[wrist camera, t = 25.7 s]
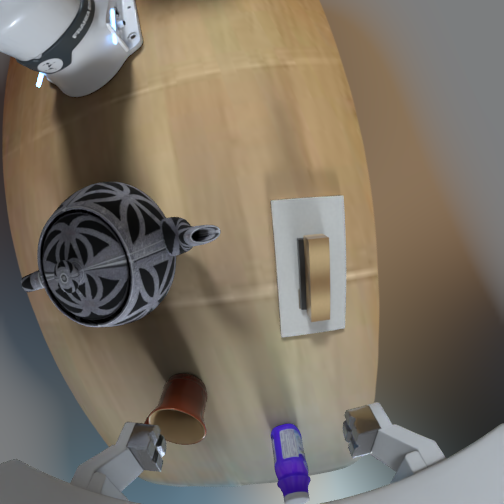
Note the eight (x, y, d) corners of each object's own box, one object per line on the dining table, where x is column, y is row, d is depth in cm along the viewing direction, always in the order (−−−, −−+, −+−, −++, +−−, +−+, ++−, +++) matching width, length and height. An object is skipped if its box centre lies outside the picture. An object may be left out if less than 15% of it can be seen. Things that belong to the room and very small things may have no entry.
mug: (191, 359, 42) (179, 401, 31) (222, 394, 43) (218, 436, 33) (140, 383, 43) (122, 420, 33) (171, 413, 44) (160, 452, 34)
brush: (296, 234, 36) (302, 239, 32) (324, 231, 37) (334, 236, 32) (300, 310, 39) (306, 323, 35) (326, 306, 39) (335, 318, 35)
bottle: (303, 437, 47) (318, 503, 30) (277, 444, 47) (285, 511, 30) (294, 418, 45) (310, 490, 28) (266, 425, 45) (273, 498, 28)
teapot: (245, 284, 39) (245, 337, 24) (75, 319, 40) (27, 363, 25) (210, 150, 35) (189, 124, 20) (41, 214, 36) (-22, 228, 21)
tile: (270, 200, 36) (270, 200, 35) (341, 195, 37) (343, 195, 36) (280, 334, 41) (281, 337, 40) (342, 325, 41) (345, 328, 40)
